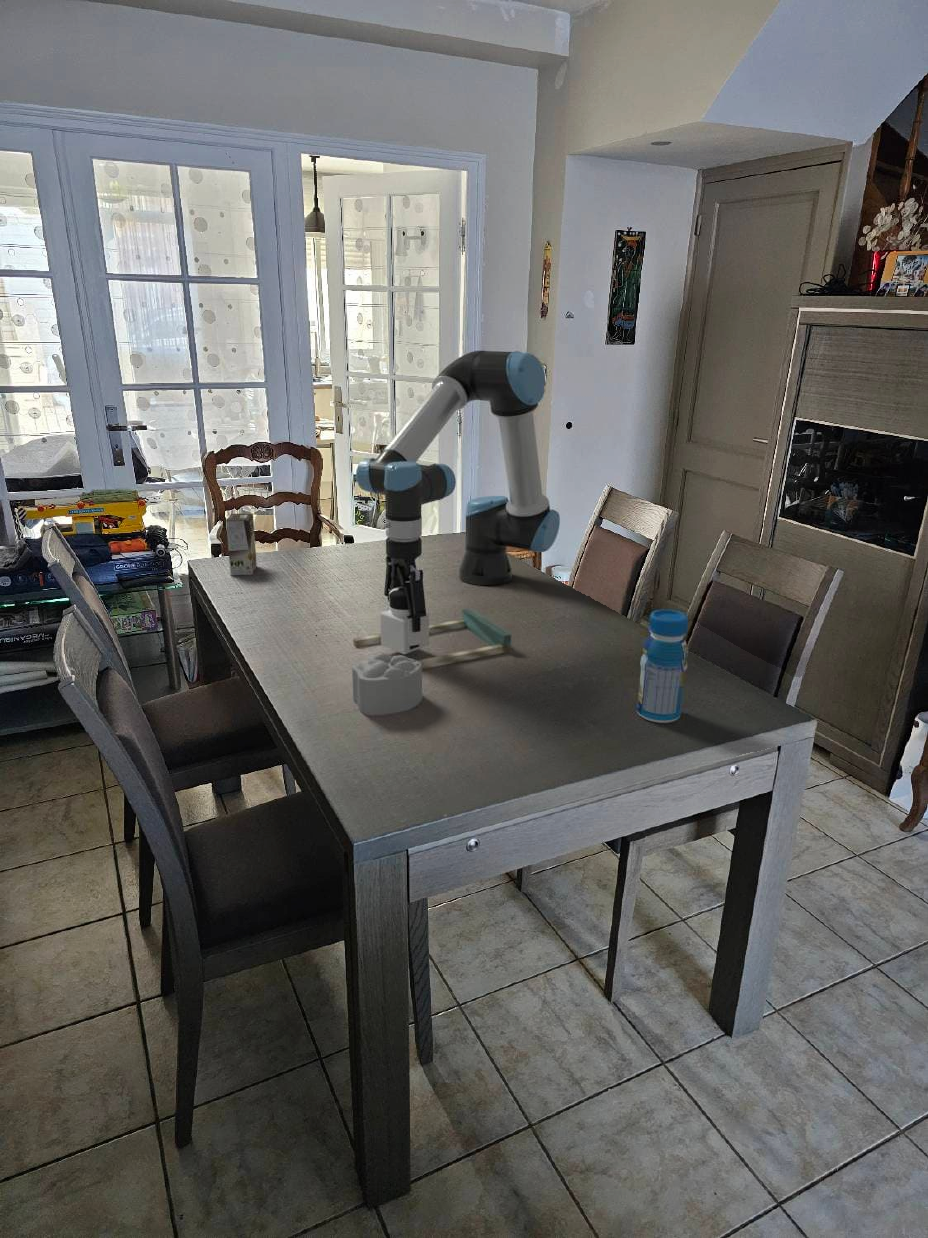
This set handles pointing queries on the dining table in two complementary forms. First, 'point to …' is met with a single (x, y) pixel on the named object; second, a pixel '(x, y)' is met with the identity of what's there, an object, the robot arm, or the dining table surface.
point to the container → (400, 624)
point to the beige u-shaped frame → (469, 620)
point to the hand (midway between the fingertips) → (404, 636)
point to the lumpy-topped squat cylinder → (387, 684)
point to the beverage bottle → (663, 667)
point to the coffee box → (241, 544)
